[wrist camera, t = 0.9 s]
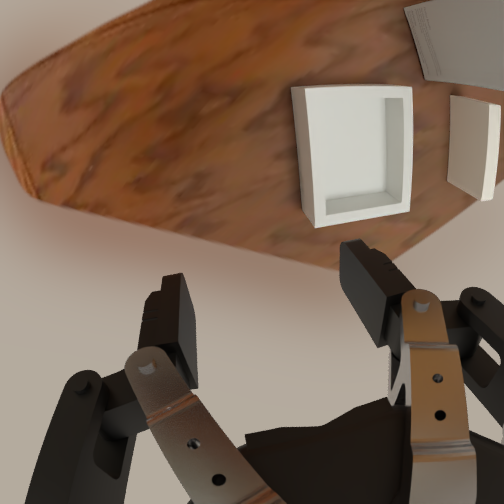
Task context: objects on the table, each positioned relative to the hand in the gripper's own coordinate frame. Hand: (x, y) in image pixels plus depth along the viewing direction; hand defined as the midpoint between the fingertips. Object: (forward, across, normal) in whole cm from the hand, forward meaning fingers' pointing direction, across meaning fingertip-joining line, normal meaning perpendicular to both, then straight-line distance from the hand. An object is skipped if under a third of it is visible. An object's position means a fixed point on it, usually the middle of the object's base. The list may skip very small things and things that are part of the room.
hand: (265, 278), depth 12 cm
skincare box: (+18, -22, -11) cm, 30 cm away
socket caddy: (+18, -11, 0) cm, 21 cm away
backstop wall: (+18, -25, 0) cm, 31 cm away
